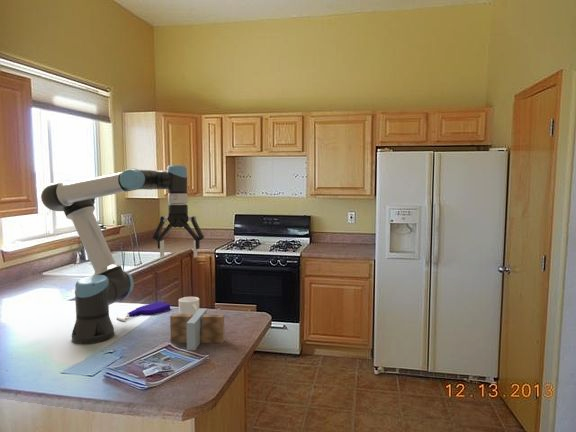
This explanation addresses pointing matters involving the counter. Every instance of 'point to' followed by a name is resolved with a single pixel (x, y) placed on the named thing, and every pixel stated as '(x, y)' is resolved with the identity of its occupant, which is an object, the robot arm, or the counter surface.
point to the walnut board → (208, 333)
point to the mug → (188, 305)
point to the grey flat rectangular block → (194, 329)
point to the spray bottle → (146, 310)
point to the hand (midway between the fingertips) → (178, 257)
